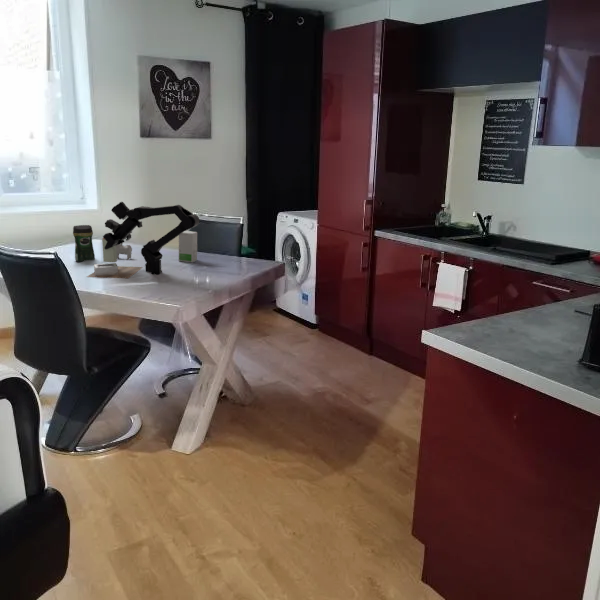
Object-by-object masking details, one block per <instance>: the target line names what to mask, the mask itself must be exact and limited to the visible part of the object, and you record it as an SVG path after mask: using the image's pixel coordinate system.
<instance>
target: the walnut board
mask: <svg viewBox="0 0 600 600" xmlns="http://www.w3.org/2000/svg"><path fill="white" fill-rule="evenodd" d="M117 266H118V265H117ZM142 268H144V267H143V266H141V267H140V266H122V265H121V266H120V265H119V266H118V275H107V276H95V273H94V272H91V274H89V275H87V276H86V278H101V279H102V278H103V279H104V278H105V279H107V278H108V279H129V278H131V277H132V276H133V275H135V274H136V273H137V272H139V271H140V270H141V269H142Z"/></svg>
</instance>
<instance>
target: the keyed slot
mask: <svg viewBox="0 0 600 600" xmlns="http://www.w3.org/2000/svg"><path fill="white" fill-rule="evenodd" d="M93 271H94V272H93V273H95V276H107V275H118V264H117V263H116V262H109V263H94V264H93Z"/></svg>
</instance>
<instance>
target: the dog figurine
mask: <svg viewBox="0 0 600 600" xmlns="http://www.w3.org/2000/svg"><path fill="white" fill-rule="evenodd" d="M123 244H124V242H123V243H121V244H119V245H116V253H117V259H119V258H120V255H125V256H127V257H126V261H129V260H130V259H129V258H132V251H133V248H132V246H131V245H130V244H126V245H123Z"/></svg>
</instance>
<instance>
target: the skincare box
mask: <svg viewBox="0 0 600 600" xmlns="http://www.w3.org/2000/svg"><path fill="white" fill-rule="evenodd" d="M197 260H198V232H197V231H190V230H186V231H184V232H183V233H181V234H180V235H178V262H187V263H194V262H197Z"/></svg>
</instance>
